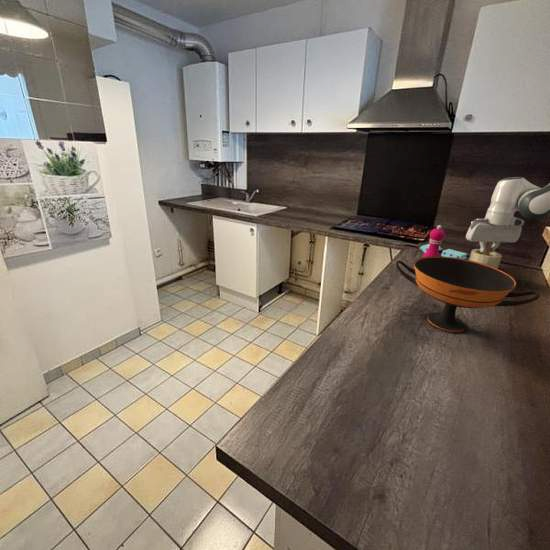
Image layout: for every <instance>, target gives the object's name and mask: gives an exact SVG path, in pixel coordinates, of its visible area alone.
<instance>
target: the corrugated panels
mask: <svg viewBox="0 0 550 550" xmlns="http://www.w3.org/2000/svg"><path fill="white" fill-rule="evenodd" d="M429 245H430V243H427V244H424V245H421V246H420V247H419V249H420V250H421V251H422V253H423V254H424V253H425V252H426V251H427V250H428V248H429ZM441 250H442V248H441V246H439V251H441ZM467 255H468V253H467V252H463V251H459V250H455V249H451V248H447V249H445V250H444V249H443V250H442V252H441V254H440V256H444V257H454V258H460V259H468V257H467Z"/></svg>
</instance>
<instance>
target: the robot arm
mask: <svg viewBox="0 0 550 550" xmlns="http://www.w3.org/2000/svg"><path fill="white" fill-rule="evenodd" d="M516 212H519V214H520V215H521V216H522V217H523V218H525V219H528V220H533V221H538V220H543V219H545V218H548V217H549V216H550V183H548V184H547V185H545V186H544V187H540V186H537V185H535V184H533V183H531V182H530V181H528V180H527V179H526V178H525V177H523V176H511V177H510V176H509V177H504V178H502V179H500V180H499V181H498V182H497V184H496V186H495V188H494V190H493V192H492V195H491V198H490V205H489V207H487V210H486V213H485V216H484V218H475V219H473V220H472V221H471V223H470V226H469V227H468V230H467V232H466V235H465V239H466V240H467V241H469V242H475V243H477V242H479V245H480V248H479V249H480V251H481V252H486V250H487V248H485V246H486V243H487V242H493V245H492V248H491V251H490V252H496V249H497V248H498V247H499V246H500V245H501V243H512V244H513V243H516V242H518V240H519V238H520V236H521V233H522V229H523V228H522V226H523V225H524V224H525V220H524V219H521V218H518V217H516V216H514V215H515V213H516Z"/></svg>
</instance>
